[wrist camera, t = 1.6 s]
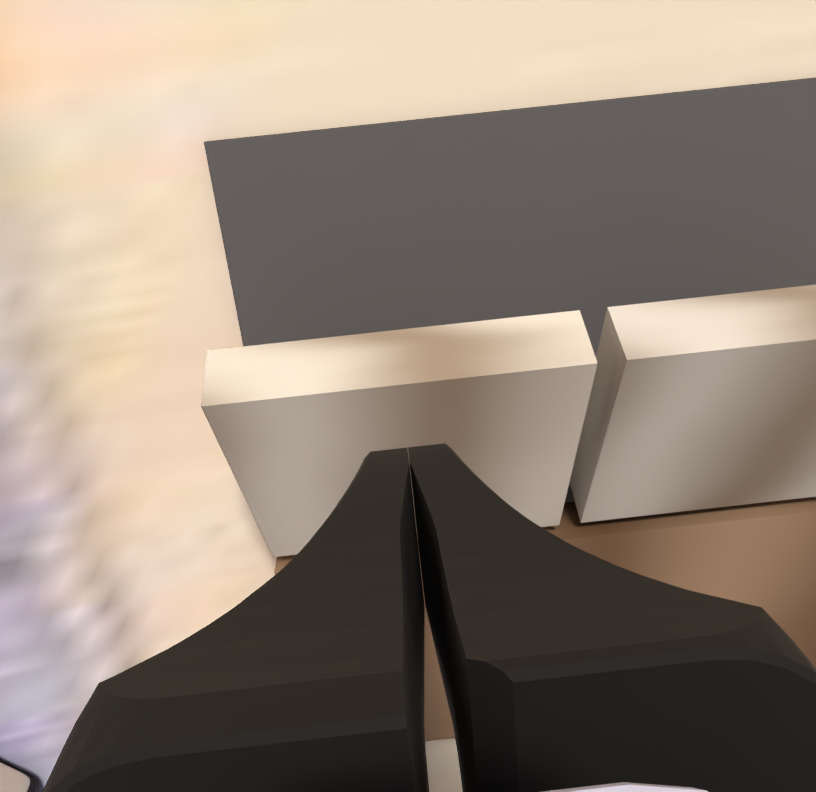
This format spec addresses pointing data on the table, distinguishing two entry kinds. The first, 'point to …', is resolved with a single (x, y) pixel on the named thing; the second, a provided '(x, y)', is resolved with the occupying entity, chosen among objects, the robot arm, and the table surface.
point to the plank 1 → (401, 413)
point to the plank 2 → (700, 406)
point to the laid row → (689, 568)
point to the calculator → (16, 780)
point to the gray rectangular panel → (519, 212)
